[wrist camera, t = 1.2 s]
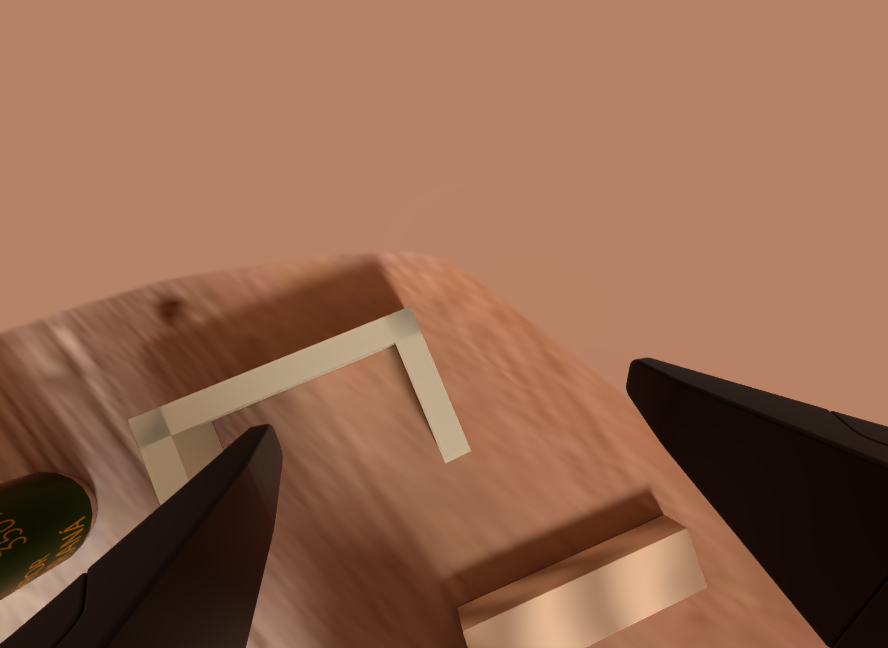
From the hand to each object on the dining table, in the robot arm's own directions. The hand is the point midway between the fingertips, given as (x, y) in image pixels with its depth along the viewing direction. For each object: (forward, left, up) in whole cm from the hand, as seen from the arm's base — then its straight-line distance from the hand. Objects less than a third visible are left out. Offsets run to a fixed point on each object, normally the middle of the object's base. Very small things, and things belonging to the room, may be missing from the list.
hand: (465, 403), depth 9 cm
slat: (+8, -16, -16) cm, 24 cm away
